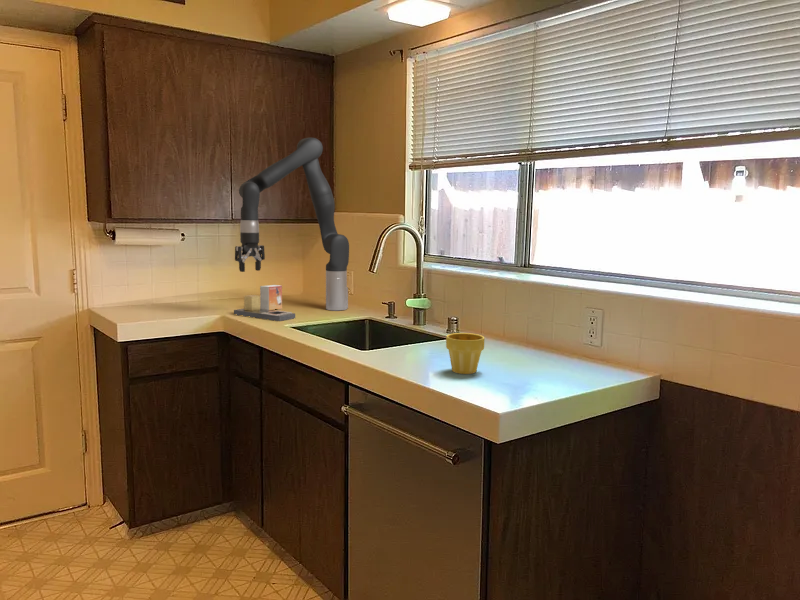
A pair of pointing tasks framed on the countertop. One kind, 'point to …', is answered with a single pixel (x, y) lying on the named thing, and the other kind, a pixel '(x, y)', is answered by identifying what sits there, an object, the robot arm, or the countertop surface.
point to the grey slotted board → (267, 314)
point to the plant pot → (464, 351)
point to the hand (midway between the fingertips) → (250, 271)
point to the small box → (271, 297)
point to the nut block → (251, 303)
